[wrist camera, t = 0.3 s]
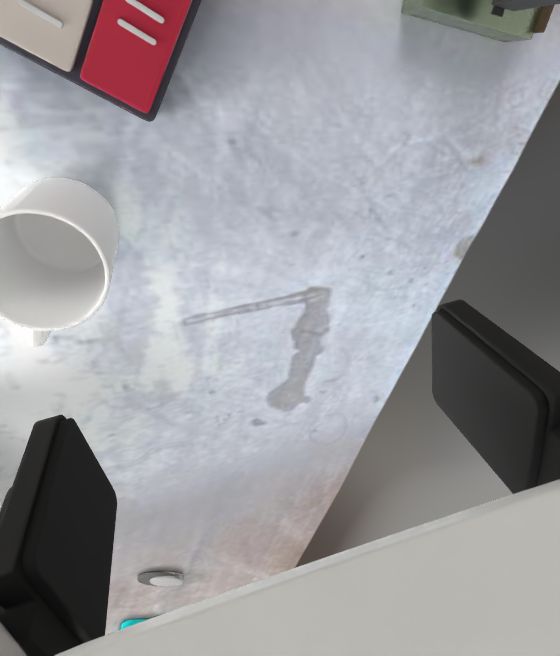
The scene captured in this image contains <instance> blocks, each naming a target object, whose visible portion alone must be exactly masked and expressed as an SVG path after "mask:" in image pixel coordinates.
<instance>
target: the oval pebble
mask: <svg viewBox="0 0 560 656" xmlns="http://www.w3.org/2000/svg"><path fill="white" fill-rule="evenodd" d="M183 577H184V576H183V575H182V574H180V573H175V572H148V573H144V574H141V575H139V576H138V578H137V580H138V581H139V582H140V583H143V584H146V585H152V586H163V587H171V586H178V585H182V584H183Z"/></svg>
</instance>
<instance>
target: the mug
mask: <svg viewBox="0 0 560 656" xmlns="http://www.w3.org/2000/svg"><path fill="white" fill-rule="evenodd" d="M118 245H119V226H118V222H117V218H116V216H115V213H114V211H113V210H112V208H111V206H110V205H109V203H108V202H107V201H106V200H105V199H104V197H103V196H102V195H100V194H99V193H98V192H97V191H96V190H94V189H93V188H91V187H90V186H88V185H86V184H84V183H82V182H79V181H77V180H73V179H69V178H62V177H53V178H45V179H41V180H38V181H35V182H33V183H31V184H29V185H27V186H25V187H24V188H23V189H21V190H20V191H19V192H18V193H16V194H15V195H14V196H13V197H12V198H11V199H10V200H8V201H7V202H6V203H5V204H4V205H3V206H2V207H0V317H1V318H3V319H4V320H6V321H8V322H10V323H13V324H15V325H18V326H21V327H23V334H24V338H25V340H26V342H27V343H28V344H29V345H30V346H33V347H38V346H41V345H43V344H44V343H45V342H46V341H47V339H48V337H49V334H50V332H51V331H52V330H61V329H66V328H70V327H73V326H75V325H78V324H80V323H82V322H84V321H85V320H87V319H88V318H90V317H91V316H92V315H94V314H95V313H96V312H97V311H98V310H99V308H100V307H101V305H102V304H103V302H104V300H105V299H106V296H107V294H108V291H109V286H110V282H111V277H112V273H113V268H114V264H115V259H116V254H117V250H118Z"/></svg>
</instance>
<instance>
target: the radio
mask: <svg viewBox="0 0 560 656" xmlns="http://www.w3.org/2000/svg"><path fill="white" fill-rule="evenodd" d="M492 8H493V5H492V0H404V3H403V7H402V11H401V12H402V13H405V14H408V15H412V16H415V17H419V18H422V19H426V20H429V21H433V22H436V23H440V24H443V25H447V26H450V27H454V28H457V29H461V30H464V31H468V32H471V33H475V34H478V35H482V36H485V37H489V38H492V39H496V40H499V41H503V42H511V41H522V40H531V38H532V35H533V33H534V30H535V27H536V25H537V22H538V19H539V16H540V14H541V11H542V8H543V7H537V8H531V9H525V10H519V11H511V10H507V9H505V11H504V14H503V16H502V17H498V16H495V15H492V14H491V11H492Z"/></svg>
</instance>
